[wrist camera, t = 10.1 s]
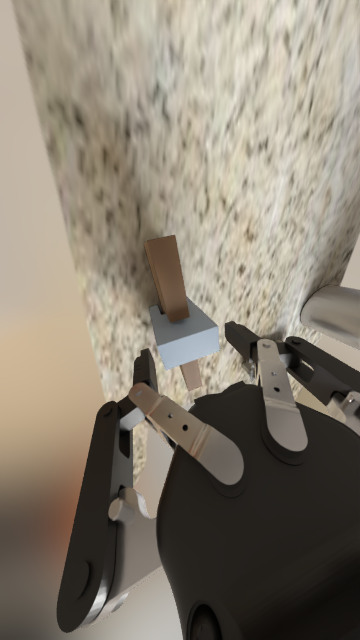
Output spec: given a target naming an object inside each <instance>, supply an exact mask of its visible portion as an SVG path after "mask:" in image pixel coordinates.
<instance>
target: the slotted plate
mask: <svg viewBox="0 0 360 640" xmlns="http://www.w3.org/2000/svg"><path fill="white" fill-rule="evenodd" d="M144 247H145V250H146V254H147V257H148V261H149V264H150V268H151V271H152V275H153V278H154V281H155V285H156V288H157V292H158V295H159V299H160V302H161V306H162V309H163V313H164V314H166V315H167V317H168V319H169V321H170V323H172V322H175V321H178V320H182V319H185V318H188V317H190V315H189V309H188V304H187V298H186V293H185V287H184V281H183V276H182V270H181V265H180V259H179V254H178V248H177V243H176V237H175V235H171V236H167V237H162V238H158V239H153V240H148V241H147V242H146V243H145V244H144ZM180 369H181V371H182V374H183V377H184V380H185V382H186V385H187V388H188V391H191V390H194V389H196V388H199V387H201V386H202V381H201V376H200V370H199V365H198V359H196V360H193V361H190V362H188V363H185V364H182V365H180Z"/></svg>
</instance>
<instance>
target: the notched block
mask: <svg viewBox="0 0 360 640" xmlns="http://www.w3.org/2000/svg"><path fill="white" fill-rule="evenodd" d="M186 298H187V304H188V309H189V315H190V317H188V318H185V319H182V320H178V321H175V322H172V323H170V321H169V319H168V317H167V315H166V314H163V315H161V313H160V311H159V308H158V305H155V306H152V307H149V309H150V314H151V319H152V324H153V329H154V334H155V339H156V343H157V348H158V350H159V353H160V356H161V358H162V361H163V364H164V367H165V369H166V370H169V369H171V368H174V367H177V366H180V365H182V364H185V363H188V362H190V361H193V360H196V359H199V358H201V357H204V356H207V355H210V354H212V353H215V352H218V351H220V348H219V332H218V325H217V324H215V323H214V322H213V321H212V320H211V319H210V318H209V317H208V316H207V315H206V314H205V313H204V312H203V311H202V310H201V309H199V308H198V307H197V306H196V305H195V304H194V303H193V302H192V301H191V300H190V299H189V298H188V297H187V296H186Z"/></svg>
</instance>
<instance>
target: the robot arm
mask: <svg viewBox="0 0 360 640" xmlns="http://www.w3.org/2000/svg"><path fill="white" fill-rule="evenodd" d="M301 322H302V324H303V325H305V326H308V327H310V328H312V329H314V330H316V331H318V332H321V333H323V334H325V335H327V336H329V337H332V338H334V339H336V340H338V341H341V342H343V343H345V344H347V345H349V346H352V347H354V348H356V349H358V350H360V290H357V289H352V288H346V287H341V286H335V285H328V286H325V287H323V288H321V289H319V290H318V291H317V292H316V293H314V294H313V295H312V296H311V298H310V299H309V300H308V301H307V303H306V304H305V306H304V308H303V310H302V313H301ZM225 337H226V339H227V341H228V342H229V343H230V344H231V345H232V346H233V347H234V348H235V349H236V350H237V351H238V352H239V353H240V354H241V355H242V356H243V357H244V358H245V359H246V361H247V362H248V363H250V362H253V361H254V362H255V377H256V385H252V384H245V383H244V382H243V381H240V382H238V383H235V384H233V385H231V386H229V387H228V388H227V389H225V390H224V391H223V392H222V393H218V394H209V395H205V396H202V397H199V398H197V399H194V402H195V404H194V405H193V406H192V407H191V408H190V409H189V411H186V410H185V409H184V408H182V407H181V406H179V405H178V404H177V403H175V402H174V401H172V400H171V399H170V398H168V397H167V396H165V395H163V396H161V395H160V394H159V393H158V385H157V377H156V369H155V363H154V360H153V357H152V355H151V352H150V350H149V348H147V349H144V350H141V356H140V357H137V358H136V360H135V362H134V374H133V387H132V388H131V389H130V391H129V394H128V395H127V396H126V397H125V398H123V399H122V400H120V401H119V402H117V403H116V402H115V401H110V402H107V403H106V404H104V405H103V406H102V407H101V408H100V410H99V411H98V413H97V416H96V421H95V425H94V430H93V435H92V439H91V444H90V449H89V454H88V458H87V463H86V468H85V472H84V477H83V482H82V487H81V492H80V496H79V501H78V505H77V510H76V515H75V519H74V524H73V529H72V534H71V538H70V543H69V548H68V553H67V557H66V562H65V567H64V571H63V576H62V581H61V586H60V590H59V595H58V601H57V622H58V625H59V627H60V629H61V630H62V631H63V632H66V633H68V632H72V631H74V630H76V629H78V628H80V627H81V628H85V627H88V626H90V625H92V624H94V623H96V622H98V621H100V620H102V619H104V618H105V617H107V616H108V615H109V614H110V613H112V612H114V611H116V610H117V609H118V608H119V607H120V606H121V605H122V604H123V602H124V600H125V599H126V597H127V594H128V592H129V591H130V590H132V589H133V588H135V587H136V586H138V585H139V584H140V583H142V582H144V581H145V580H146V579H148V578H150V577H151V576H152V575H154V574H155V573H157V572H158V571H160V570H161V569H163V568H164V571H165V573H166V575H167V578H168V580H169V583H170V585H171V588H172V591H173V595H174V598H175V602H176V605H177V610H178V614H179V619H180V623H181V629H182V634H183V640H360V372H359V371H357V370H355V369H353V368H351V367H350V366H348V365H347V364H345V363H343V362H342V361H340V360H338V359H336V358H335V357H333V356H331V355H330V354H328V353H326V352H325V351H323V350H321V349H320V348H318V347H316V346H314V345H313V344H311V343H309V342H308V341H306V340H304V339H302V338H300V337H295V336H290V337H287V338H286V340H285V342H280V343H275V342H274V341H272V340H269V339H261V338H260V337H259V336H257V335H256V334H255V333H253V332H252V331H250V330H249V329H248V328H246V327H245V326H243V325H240V324H236V323H235V322H234V321H230V322H227V323H225ZM302 360H303V361H305V362H306V363H307V364H309V365H310V366H311V367H312V368H313V369H314V371H313V370H312V369H310V368H309V367H308V366H306V365H305V364H304V363H302ZM287 372H288V373H289V374H290V375H292V376H293V377H294V378H295V379H296V380H297V381H298V382H299V383H300V384H302V385H303V386H304V387H305V388H306V389H307V390H308V391H309V392H311V393H312V394H313V395H314V396H315V397H316V398H317V399H318V400H319V401H321V402H322V403H323V404H324V405H325V406H326V407H327V410H328V412H329V414H330V415H331V416H332V417H330V416H328V415H325V414H323V413H321V412H318V411H316V410H314V409H311V408H309V407H307V406H305V405H302V404H300V403H298V402H295V401H294V397H293V393H292V390H291V386H290V382H289V379H288V375H287ZM143 419H144V420H145V421H146V422H147V423H148V424H149V425H150V426H151V427H152V428H153V429H154V430H155V431H156V432H157V433H158V434H159V436H160V437H161V438H162V439H163V440H164V441H165V443H166V444H167V445H168V446H169V447H170V448H171V449H172V450H173V451H174V454H173V457H172V461H171V464H170V467H169V471H168V474H167V478H166V481H165V484H164V487H163V490H162V494H161V497H160V501H159V505H158V509H157V517H156V518H153V519H151V518H150V517H149V515H148V513H147V510H146V504H145V500H144V497H143V496H142V495H141V494H140V493H139V492H137V491H136V490H134V489H133V427H135V426H136V425H137V424H138V423H140V422H141V421H142V420H143Z"/></svg>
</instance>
